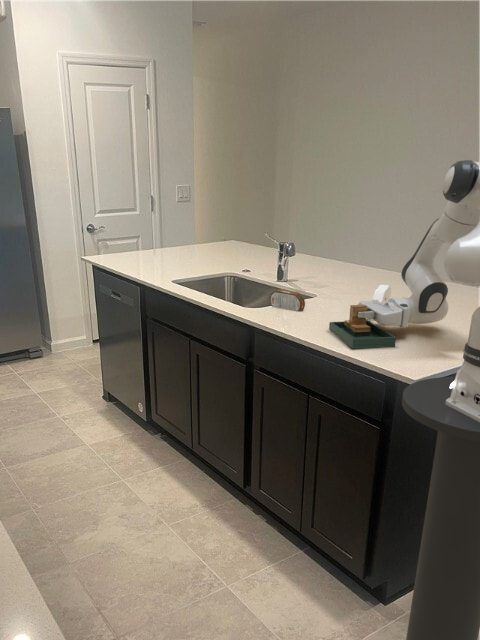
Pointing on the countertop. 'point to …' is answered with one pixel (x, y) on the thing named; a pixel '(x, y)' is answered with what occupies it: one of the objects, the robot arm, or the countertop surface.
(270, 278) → the countertop surface
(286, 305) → the tin
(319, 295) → the countertop surface
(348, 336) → the tray
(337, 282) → the countertop surface
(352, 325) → the wooden inverted t block
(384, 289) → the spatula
